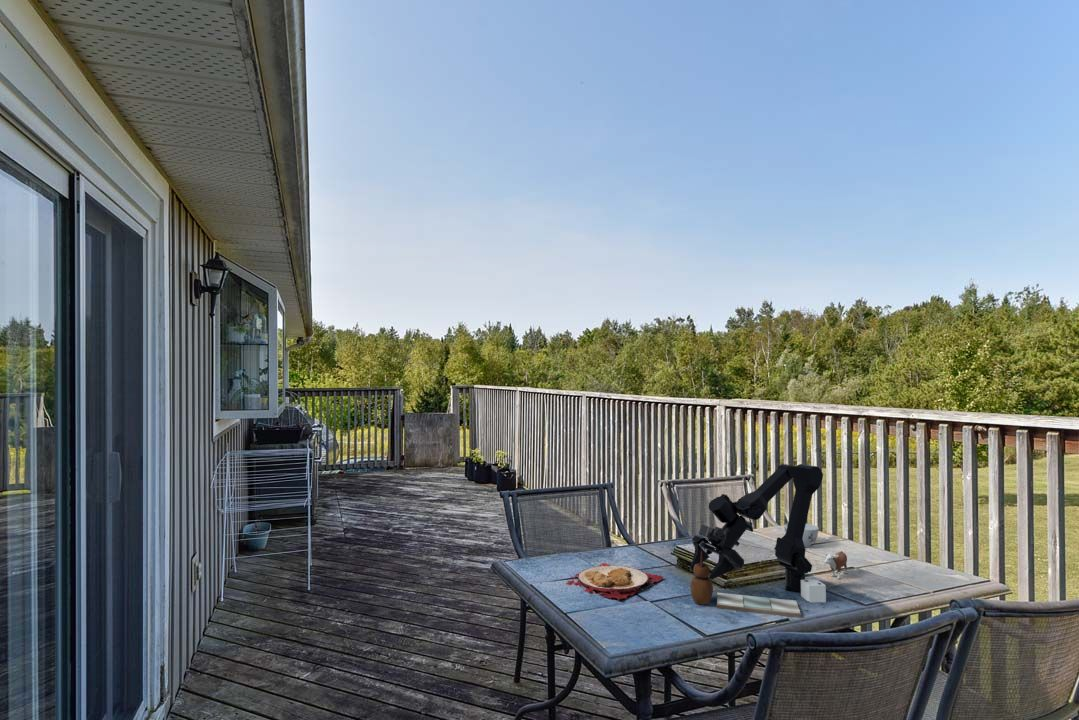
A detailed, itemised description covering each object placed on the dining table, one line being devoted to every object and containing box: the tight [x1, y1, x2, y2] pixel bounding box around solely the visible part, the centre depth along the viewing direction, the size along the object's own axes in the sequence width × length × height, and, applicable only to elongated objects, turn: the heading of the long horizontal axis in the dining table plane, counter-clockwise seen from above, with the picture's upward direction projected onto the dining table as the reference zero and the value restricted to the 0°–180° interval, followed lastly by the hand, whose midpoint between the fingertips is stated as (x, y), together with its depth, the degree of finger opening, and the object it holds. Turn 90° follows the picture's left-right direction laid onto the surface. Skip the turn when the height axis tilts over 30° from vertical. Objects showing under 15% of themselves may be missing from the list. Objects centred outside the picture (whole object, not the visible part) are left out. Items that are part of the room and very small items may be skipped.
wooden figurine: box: [690, 550, 714, 606], centre depth 169 cm, size 7×6×15 cm
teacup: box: [784, 522, 820, 548], centre depth 230 cm, size 15×12×8 cm
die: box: [800, 579, 827, 603], centre depth 172 cm, size 5×5×5 cm
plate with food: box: [565, 562, 665, 601], centre depth 187 cm, size 25×26×4 cm
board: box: [716, 592, 802, 618], centre depth 166 cm, size 10×22×1 cm, turn 73°
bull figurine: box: [823, 550, 848, 580], centre depth 192 cm, size 4×13×8 cm, turn 132°
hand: (700, 573), depth 169 cm, fingers open, 9 cm apart
